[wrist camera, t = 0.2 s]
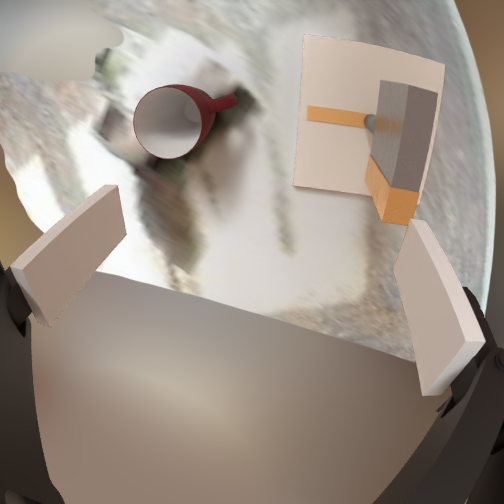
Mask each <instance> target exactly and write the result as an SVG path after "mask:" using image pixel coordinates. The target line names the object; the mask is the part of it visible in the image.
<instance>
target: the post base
mask: <svg viewBox="0 0 504 504" xmlns="http://www.w3.org/2000/svg"><path fill="white" fill-rule="evenodd" d="M444 72H445V64H442V63H439V62H436V61H433V60H430V59H427V58H423V57H420V56H417V55H413V54H409V53H406V52H402V51H398V50H394V49H390V48H386V47H381V46H377V45H372V44H367V43H362V42H357V41H351V40H345V39H338V38H331V37H324V36H315V35H305V34H304V37H303V57H302V74H301V90H300V105H299V119H298V132H297V144H296V156H295V167H294V178H293V186H302V187H310V188H318V189H325V190H333V191H340V192H347V193H354V194H360V195H367V196H371V194H370V192H369V190H368V188H367V185H366V183H365V176H366V170H367V165H368V159H369V154H370V153H371V147H372V141H373V134H374V127H375V120H376V113H377V105H378V96H379V87H380V80H385V81H391V82H397V83H403V84H408V85H412V86H416V87H419V88H423V89H426V90H430V91H433V92H436V93H438V98H437V106H436V112H435V118H434V124H433V130H432V135H431V141H430V146H429V151H428V155H427V160H426V164H425V169H424V173H423V177H422V181H421V185H420V189H419V192H420V195H419V198H418V202H417V204H418V205H419V203H420V199H421V196H422V192H423V188H424V184H425V180H426V176H427V172H428V168H429V164H430V159H431V154H432V150H433V145H434V140H435V135H436V129H437V124H438V118H439V111H440V105H441V98H442V90H443V82H444Z"/></svg>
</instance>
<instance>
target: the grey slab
mask: <svg viewBox="0 0 504 504" xmlns="http://www.w3.org/2000/svg"><path fill="white" fill-rule="evenodd" d="M437 98H438V93H436V92H433V91H430V90H426V89H423V88H419V87H416V86H412V85H408V84H403V83H397V82H391V81H385V80H380V87H379V96H378V105H377V113H376V120H375V127H374V134H373V141H372V147H371V153H370V154H369V159H368V165H367V170H366V176H365V183H366V185H367V188H368V190H369V192H370V194H371V197H372V199H373V202H374V204H375V206H376V209H377V211H378V214H379V216H380V219H381V221H382V222H387V223H393V224H400V225H406V226H408V225H409V221H410V218H412V219H413V216H414V213H415V209H416V206H417V202H418V198H419V195H420V192H419V189H420V185H421V181H422V177H423V173H424V169H425V164H426V160H427V155H428V151H429V146H430V141H431V135H432V130H433V124H434V118H435V112H436V106H437Z"/></svg>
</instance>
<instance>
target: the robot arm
mask: <svg viewBox="0 0 504 504" xmlns="http://www.w3.org/2000/svg"><path fill="white" fill-rule="evenodd" d="M126 235H127V234H126V229H125V223H124V218H123V213H122V207H121V201H120V195H119V189H118V185H104V186H103V187H101V188H100V189H99V190H97V191H96V192H95V193H93V194H92V195H91V196H89V197H88V198H87V199H86V200H84V201H83V202H82V203H80V204H79V205H78V206H77V207H75V208H74V209H73V210H72V211H71V212H69V213H68V214H67V215H66V216H64V217H63V218H62V219H61V220H60V221H58V222H57V223H56V224H55V225H54V226H53V227H51V228H50V229H49V230H48V231H47V232H46V233H45V234H43V235H42V236H41V237H40V238H39V239H38V240H37V241H36V242H35V243H34V244H32V245H31V246H30V247H29V248H28V249H27V250H26V251H25V252H24V253H23V254H22V255H21V256H20V257H19V258H18V259H17V260H16V261H15V262H14V263H13V264H12V265H11V266H10V267H9V268H8V269H7V270H6V271H5V270H4V268H3V266H2V264H1V261H0V504H65V503H64V501H63V498H62V496H61V495H60V493H59V492H58V490H57V489H56V488H55V487H54V485H53V484H52V482H51V480H50V478H49V474H48V471H47V466H46V462H45V458H44V453H43V449H42V444H41V438H40V433H39V427H38V421H37V414H36V406H35V397H34V387H33V375H32V355H31V322H30V319H29V318H28V316H29V315H30V314H31V312H32V313H33V314H34V316H35V318H36V320H37V322H38V323H40V324H42V325H45V326H47V327H50V328H51V327H52V325H53V324H54V323H55V321H56V320H57V319H58V317H59V316H60V315H61V313H62V312H63V311H64V309H65V308H66V307H67V305H68V304H69V303H70V302H71V300H72V299H73V298H74V296H75V295H76V294H77V293H78V291H79V290H80V289H81V288H82V286H83V285H84V284H85V283H86V281H87V280H88V279H89V278H90V277H91V275H92V274H93V273H94V272H95V271H96V269H97V268H98V267H99V266H100V265H101V264H102V262H103V261H104V260H105V259H106V258H107V257H108V255H109V254H110V253H111V252H112V251H113V250H114V248H115V247H116V246H117V245H118V244H119V243H120V242H121V241H122V240H123V238H124V237H125V236H126ZM393 272H394V275H395V279H396V282H397V286H398V289H399V293H400V296H401V300H402V303H403V307H404V311H405V315H406V319H407V323H408V327H409V331H410V335H411V340H412V344H413V349H414V353H415V358H416V363H417V368H418V373H419V379H420V385H421V391H422V396H431V395H442V394H443V392H444V391H445V390H446V389H447V388H448V387H449V386H450V385H451V390H452V395H451V396H450V397H449V398H448V399H447V400H446V401H445V402H444V403H443V404H442V406H440V407H439V408H438V409H437V410H436V411H437V412H439V411H440V410H441V412H440V413H439V415H438V417H437V418H436V420H435V422H434V423H433V425H432V426H431V428H430V430H429V431H428V433H427V434H426V436H425V437H424V439H423V440H422V442H421V443H420V445H419V446H418V447H417V449H416V450H415V452H414V453H413V454H412V456H411V457H410V459H409V460H408V461H407V463H406V464H405V465H404V467H403V468H402V469H401V470H400V472H399V473H398V474H397V476H396V477H395V478H394V479H393V480H392V482H391V483H390V484H389V485H388V487H387V488H386V489H385V490H384V491H383V492H382V494H381V495H380V496H379V497H378V498H377V499H376V500H375V501H374V503H373V504H464V503H465V502H466V500H467V498H468V500H467V503H466V504H504V349H503V348H499V347H497V344H496V342H495V340H494V337H493V335H492V332H491V330H490V328H489V325H488V323H487V321H486V318H484V314H483V312H482V310H481V309H480V308H481V307H480V305H479V303H478V301H477V299H476V297H475V296H474V295H473V293H472V292H471V291H470V290H469V289H468V288H467V287H462V286H461V284H460V282H459V280H458V278H457V276H456V274H455V272H454V270H453V268H452V266H451V264H450V263H449V261H448V259H447V257H446V255H445V253H444V252H443V250H442V248H441V246H440V244H439V243H438V241H437V239H436V237H435V236H434V234H433V232H432V231H431V229H430V227H429V226H428V224H427V222H426V221H422V220H417V219H412V218H410V221H409V225H408V228H407V231H406V234H405V237H404V240H403V243H402V246H401V249H400V252H399V255H398V257H397V260H396V263H395V266H394V269H393ZM468 496H469V497H468Z"/></svg>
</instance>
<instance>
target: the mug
mask: <svg viewBox="0 0 504 504" xmlns="http://www.w3.org/2000/svg"><path fill="white" fill-rule="evenodd" d="M236 105H237V98H236V96H235V95H234V94H230V95H226V96H224V97H220V98H217V99H214V100H213V99H212V98H211V97H210V96H209V95H208V94H207V93H205V92H204V91H202V90H200V89H197V88H194V87H190V86H186V85H178V84H176V85H167V86H163V87H159V88H156V89H154V90H152V91H150V92H148V93H147V94H146V95H145V96H144V97H143V98H142V99H141V100H140V102H139V103H138V105H137V107H136V110H135V113H134V120H133V124H134V131H135V134H136V137H137V139H138V141H139V142H140V144H141V145H142V147H143V148H144V149H145V150H146V151H148V152H149V153H150V154H152V155H154V156H156V157H159V158H163V159H175V158H179V157H182V156H184V155H186V154H187V153H189V152H190V151H192V150H193V149H195V148H196V147H197V146H198V145H199V144H200V143H201V142H202V141H203V140H204V138H205V137H206V136H207V134H208V132H209V130H210V128H211V127H212V125H213V123H214V120H215V116H216V112H219V111H222V110H225V109H228V108H231V107H234V106H236Z"/></svg>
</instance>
